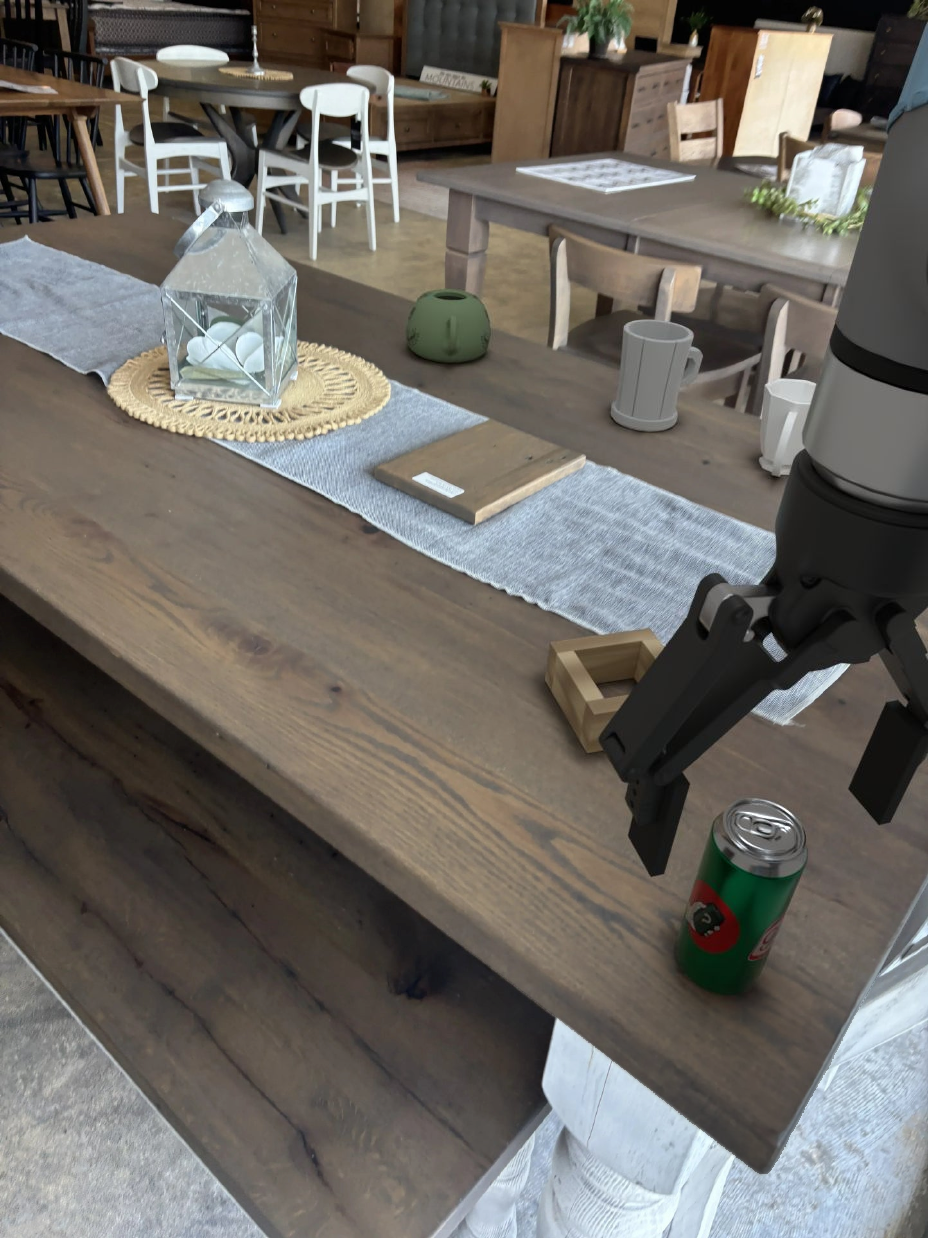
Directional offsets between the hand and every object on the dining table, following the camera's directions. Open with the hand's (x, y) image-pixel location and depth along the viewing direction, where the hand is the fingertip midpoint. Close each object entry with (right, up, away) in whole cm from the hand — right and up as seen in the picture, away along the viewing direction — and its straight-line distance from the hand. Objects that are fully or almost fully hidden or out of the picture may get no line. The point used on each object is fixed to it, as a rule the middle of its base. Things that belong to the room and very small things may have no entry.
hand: (761, 829), depth 48 cm
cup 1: (+9, +38, +74) cm, 84 cm away
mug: (-18, +51, +90) cm, 105 cm away
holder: (-3, +4, +25) cm, 26 cm away
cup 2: (+23, +29, +63) cm, 73 cm away
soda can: (-1, -10, +7) cm, 12 cm away
